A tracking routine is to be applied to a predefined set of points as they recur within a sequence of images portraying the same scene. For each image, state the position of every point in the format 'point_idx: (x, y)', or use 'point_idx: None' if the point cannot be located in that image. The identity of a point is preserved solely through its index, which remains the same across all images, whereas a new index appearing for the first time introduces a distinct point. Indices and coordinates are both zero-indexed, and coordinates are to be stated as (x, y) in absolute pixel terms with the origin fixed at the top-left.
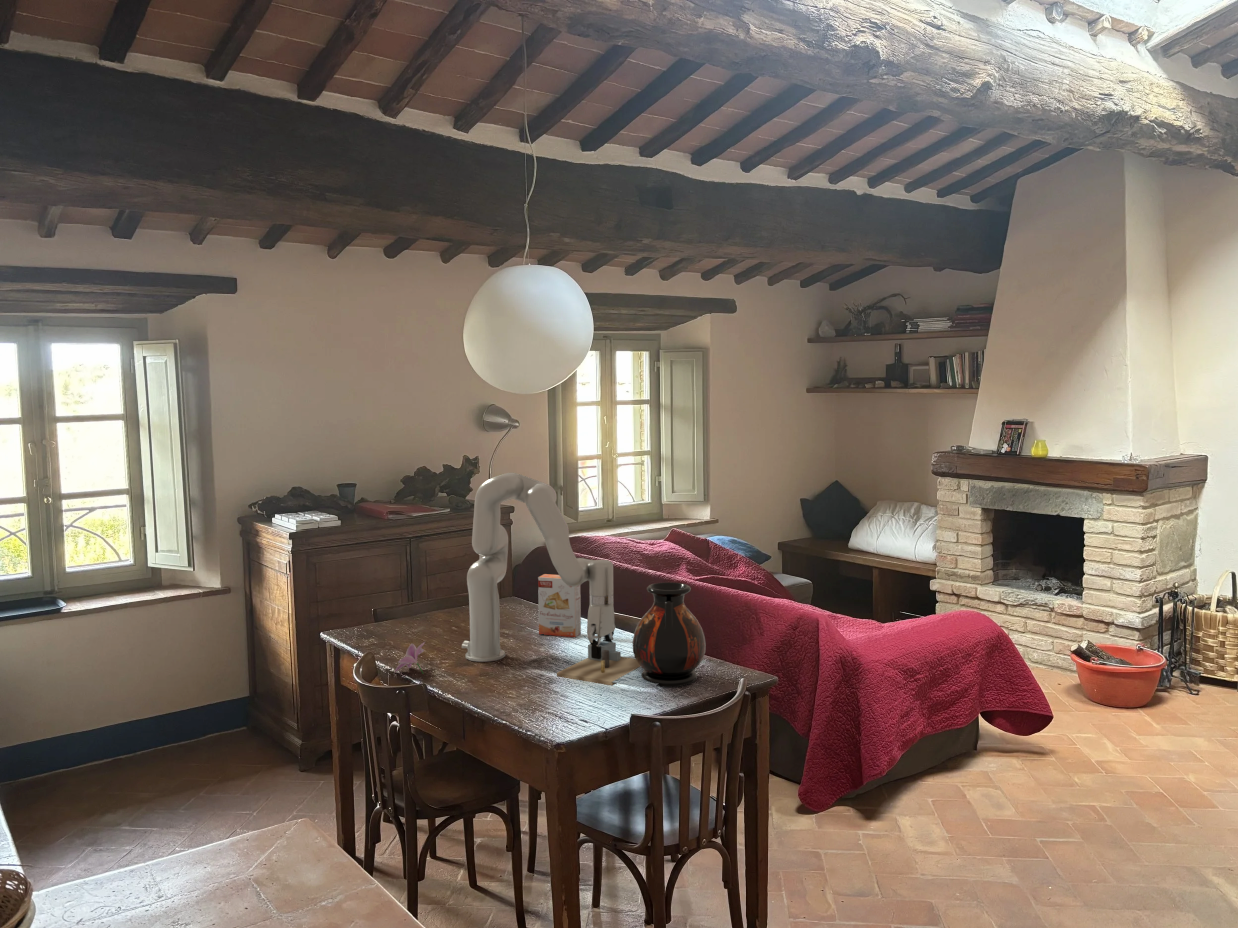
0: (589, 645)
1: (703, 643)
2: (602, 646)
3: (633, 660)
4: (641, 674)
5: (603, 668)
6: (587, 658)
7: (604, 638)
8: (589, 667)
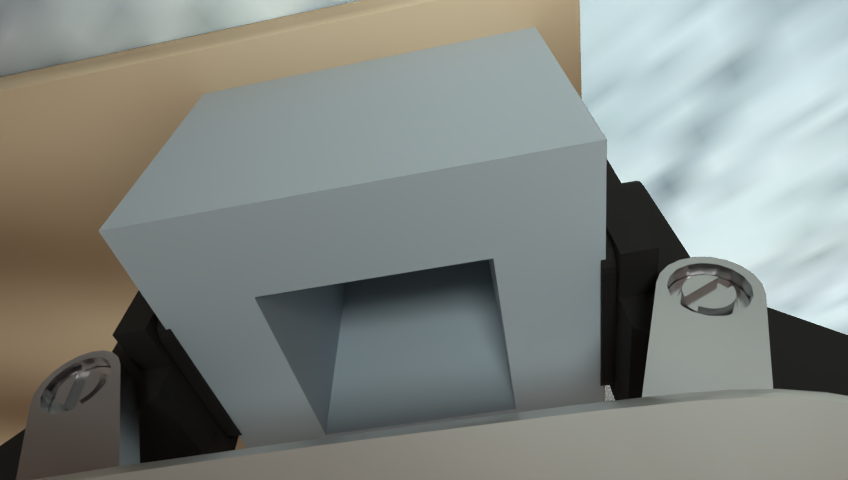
0: (125, 257)
1: None
2: (279, 439)
3: None
4: None
5: None
6: (215, 64)
7: (651, 303)
8: (11, 332)
